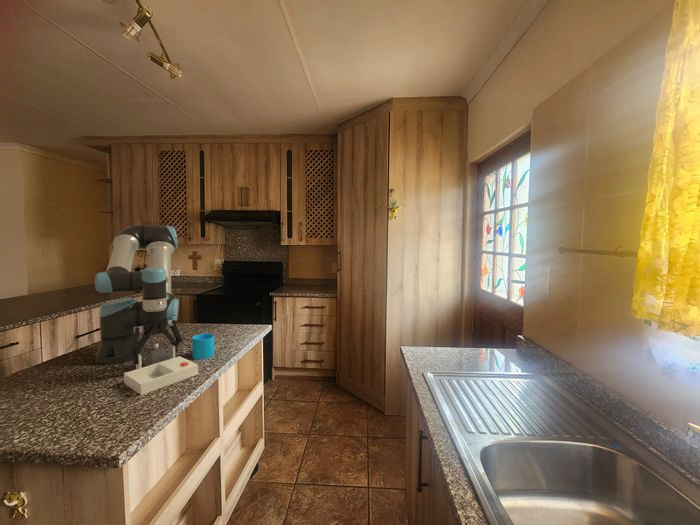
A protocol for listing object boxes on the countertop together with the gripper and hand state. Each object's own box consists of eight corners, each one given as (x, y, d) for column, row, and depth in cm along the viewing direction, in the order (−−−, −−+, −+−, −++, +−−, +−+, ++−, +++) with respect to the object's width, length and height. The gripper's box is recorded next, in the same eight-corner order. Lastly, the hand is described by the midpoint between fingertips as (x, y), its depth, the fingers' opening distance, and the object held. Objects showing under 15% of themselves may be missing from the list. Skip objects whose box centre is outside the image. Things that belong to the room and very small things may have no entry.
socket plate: (124, 383, 98) (123, 371, 97) (179, 365, 113) (179, 354, 112) (141, 395, 91) (141, 382, 90) (198, 374, 106) (198, 362, 105)
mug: (210, 359, 119) (210, 339, 118) (189, 359, 118) (189, 340, 117) (219, 348, 131) (219, 330, 130) (200, 348, 130) (199, 330, 129)
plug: (146, 367, 110) (145, 344, 109) (160, 363, 114) (159, 341, 113) (152, 371, 107) (151, 347, 106) (166, 366, 111) (165, 343, 110)
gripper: (121, 317, 97) (123, 381, 98) (191, 305, 116) (192, 359, 118) (112, 313, 101) (115, 375, 103) (181, 303, 121) (182, 354, 122)
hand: (156, 366), depth 110 cm, fingers open, 11 cm apart
